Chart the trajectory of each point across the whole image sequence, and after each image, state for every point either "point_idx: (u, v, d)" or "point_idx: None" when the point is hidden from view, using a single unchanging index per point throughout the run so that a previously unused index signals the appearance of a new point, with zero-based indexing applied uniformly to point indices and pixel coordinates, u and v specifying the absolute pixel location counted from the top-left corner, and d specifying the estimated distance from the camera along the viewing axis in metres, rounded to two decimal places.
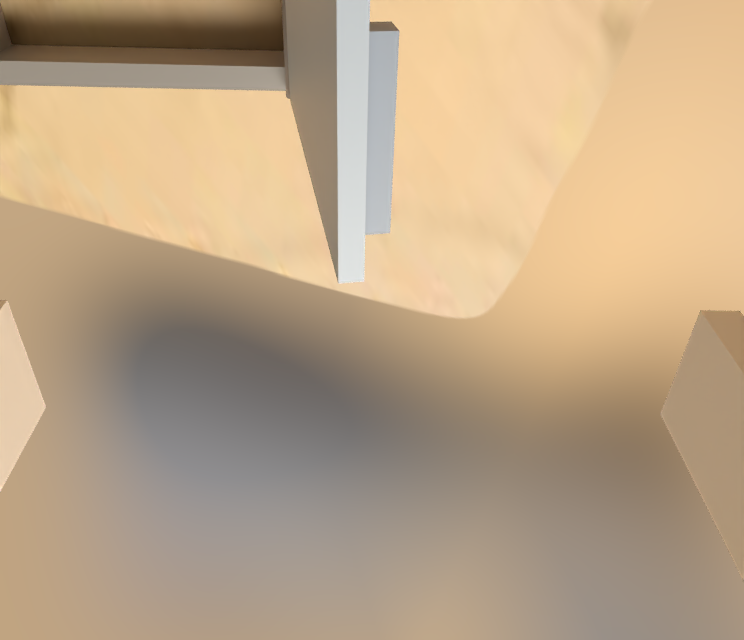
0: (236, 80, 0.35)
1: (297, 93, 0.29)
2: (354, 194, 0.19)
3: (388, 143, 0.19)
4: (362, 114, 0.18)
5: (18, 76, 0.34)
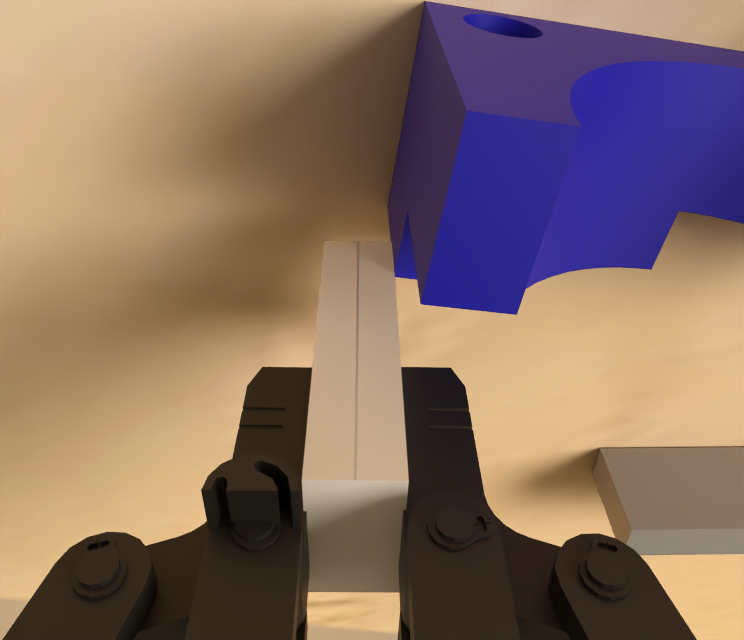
0: None
1: None
2: None
3: None
4: None
5: None
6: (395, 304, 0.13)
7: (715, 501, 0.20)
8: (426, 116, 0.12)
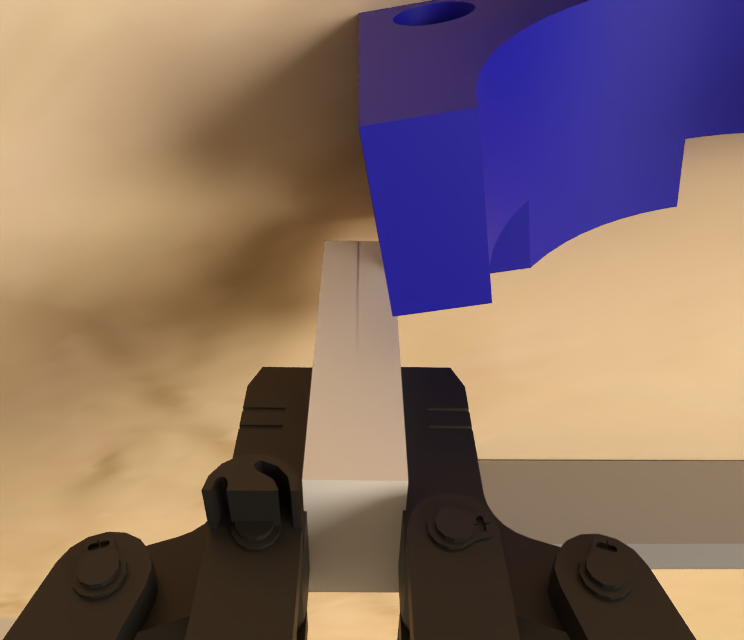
0: None
1: None
2: None
3: None
4: None
5: None
6: None
7: (523, 515, 0.19)
8: None
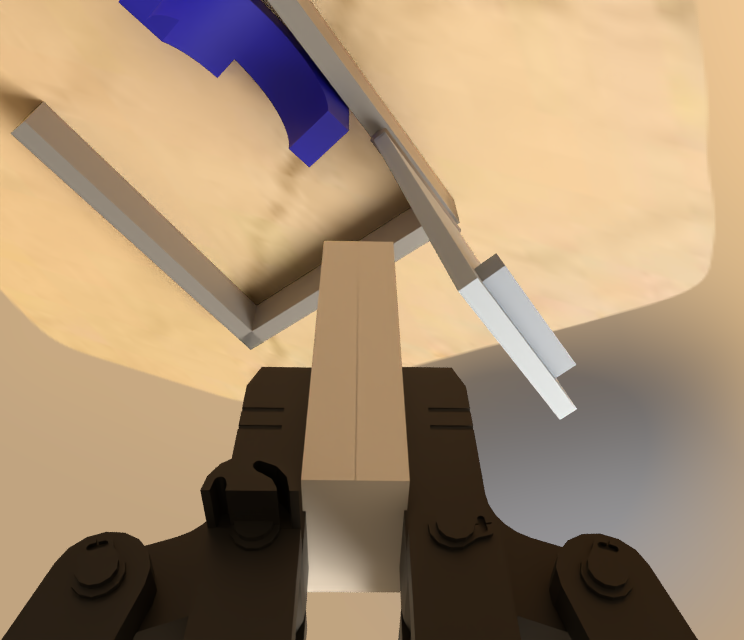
0: (405, 248, 0.43)
1: None
2: (536, 370, 0.26)
3: (539, 321, 0.26)
4: (512, 330, 0.25)
5: (274, 329, 0.47)
6: (396, 304, 0.13)
7: (69, 151, 0.40)
8: None
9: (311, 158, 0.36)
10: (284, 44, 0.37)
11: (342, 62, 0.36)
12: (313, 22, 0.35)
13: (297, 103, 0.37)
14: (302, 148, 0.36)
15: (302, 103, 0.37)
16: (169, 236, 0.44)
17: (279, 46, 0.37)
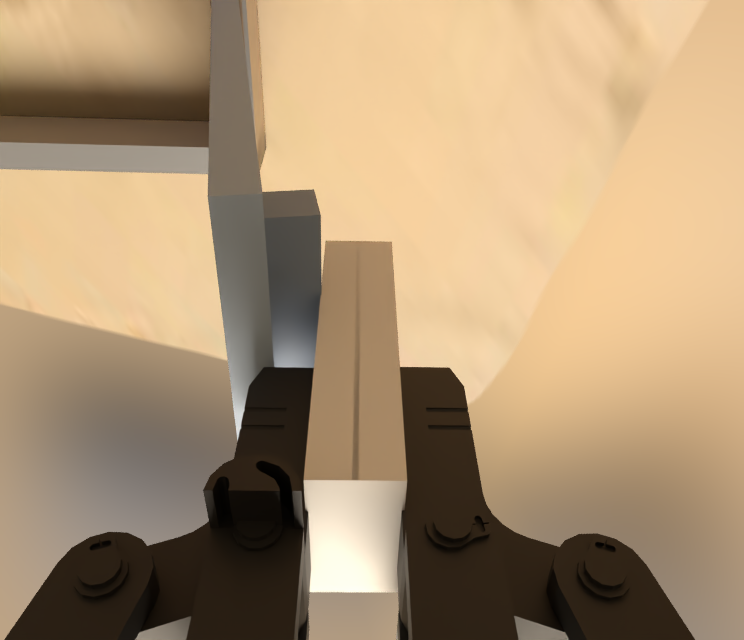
0: (168, 162, 0.29)
1: None
2: None
3: (314, 351, 0.14)
4: (264, 339, 0.12)
5: None
6: (394, 304, 0.13)
7: None
8: None
9: None
10: None
11: None
12: None
13: None
14: None
15: None
16: None
17: None
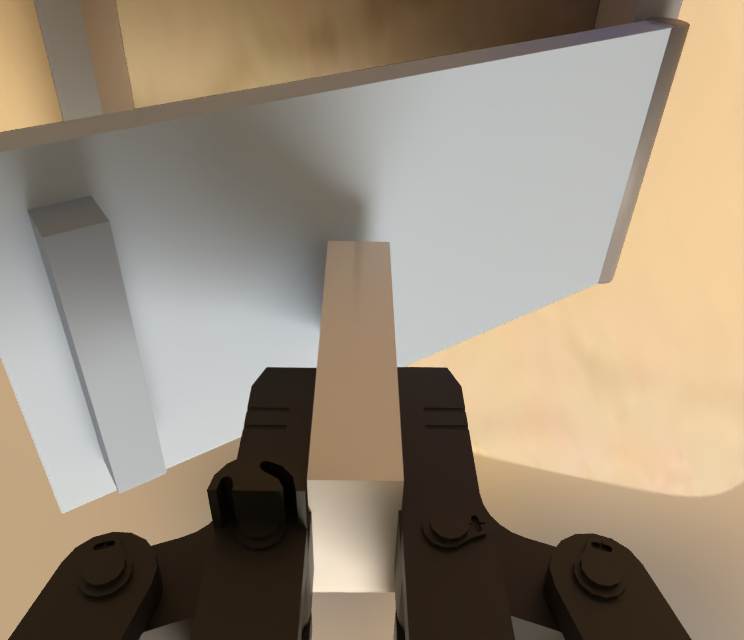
0: None
1: None
2: None
3: (84, 382, 0.12)
4: None
5: None
6: (392, 304, 0.13)
7: None
8: None
9: None
10: None
11: None
12: None
13: None
14: None
15: None
16: None
17: None
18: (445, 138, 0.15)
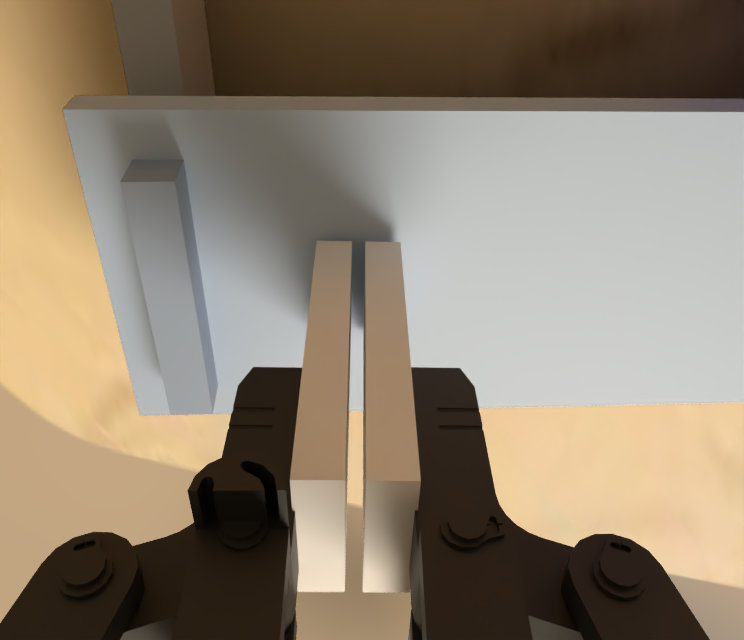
0: None
1: None
2: None
3: None
4: (97, 236, 0.14)
5: None
6: (404, 304, 0.13)
7: None
8: None
9: None
10: None
11: None
12: None
13: None
14: None
15: None
16: None
17: None
18: (556, 183, 0.14)
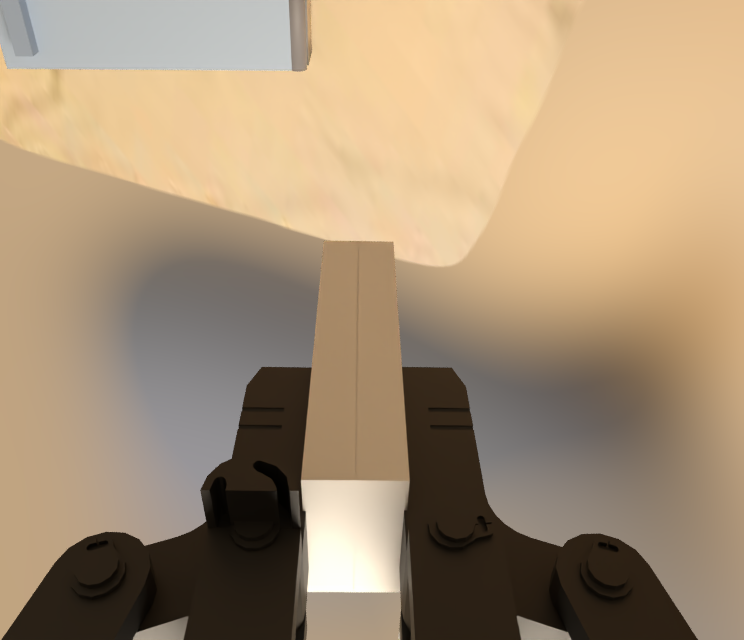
0: None
1: None
2: None
3: (1, 0, 0.38)
4: None
5: None
6: (396, 304, 0.13)
7: None
8: None
9: None
10: None
11: None
12: None
13: None
14: None
15: None
16: None
17: None
18: None
